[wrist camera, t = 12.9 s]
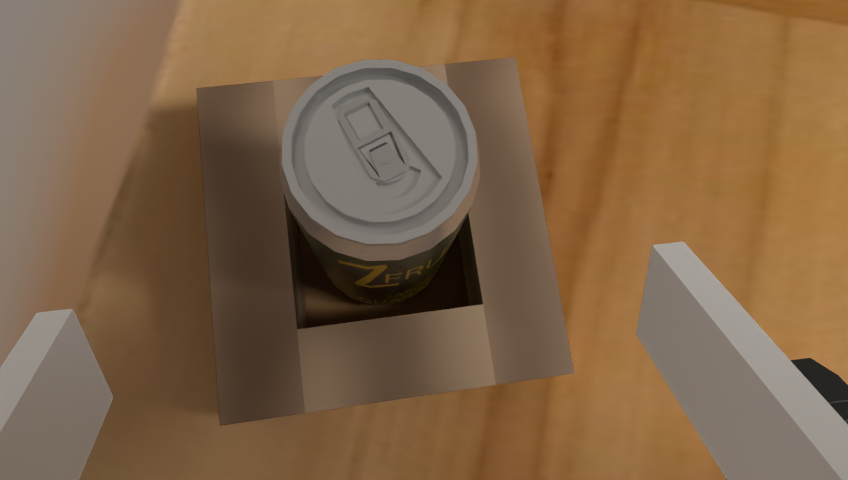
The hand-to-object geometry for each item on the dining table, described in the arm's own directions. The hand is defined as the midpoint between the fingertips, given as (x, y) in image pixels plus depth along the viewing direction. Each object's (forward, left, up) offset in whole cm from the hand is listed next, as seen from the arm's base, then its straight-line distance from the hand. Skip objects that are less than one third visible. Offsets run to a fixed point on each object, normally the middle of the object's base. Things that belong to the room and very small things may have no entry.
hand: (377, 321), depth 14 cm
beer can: (-2, -4, -12) cm, 13 cm away
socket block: (-2, -4, -12) cm, 13 cm away
